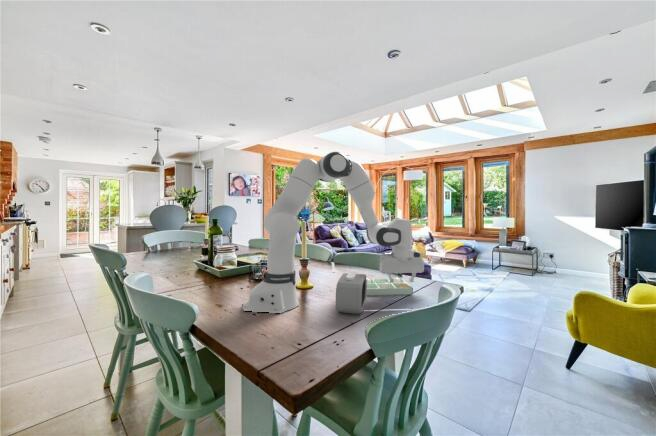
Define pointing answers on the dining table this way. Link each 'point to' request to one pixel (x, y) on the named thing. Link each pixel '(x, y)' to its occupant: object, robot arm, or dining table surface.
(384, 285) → the cream egg
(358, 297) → the alarm clock
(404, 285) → the brown egg
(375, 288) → the egg tray
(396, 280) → the cream egg
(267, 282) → the robot arm
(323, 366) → the dining table surface
